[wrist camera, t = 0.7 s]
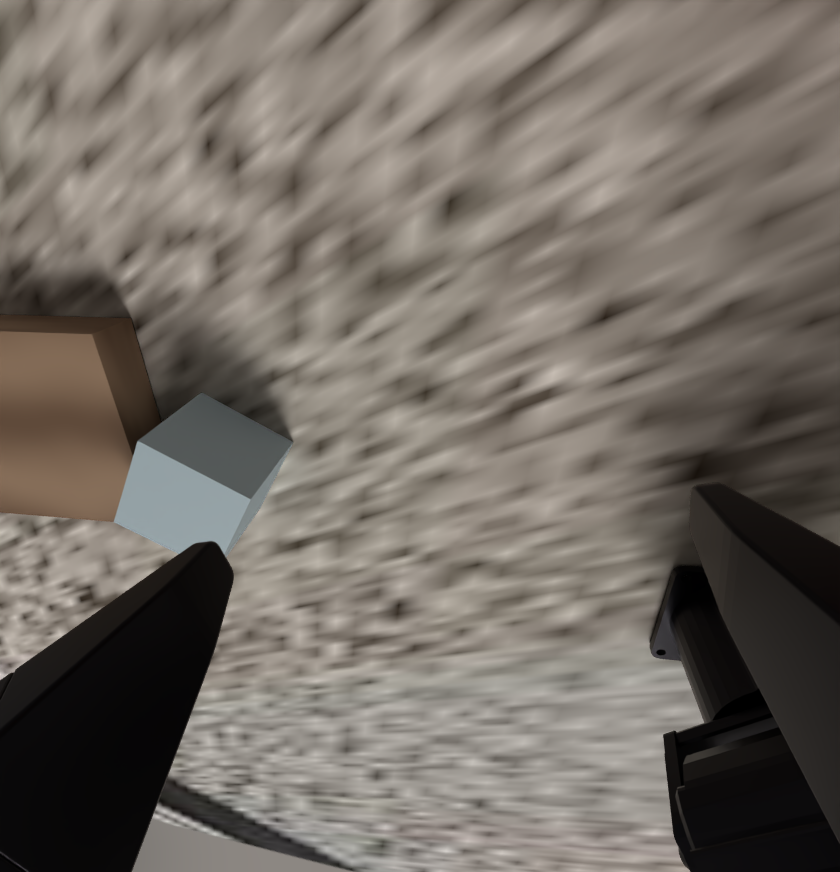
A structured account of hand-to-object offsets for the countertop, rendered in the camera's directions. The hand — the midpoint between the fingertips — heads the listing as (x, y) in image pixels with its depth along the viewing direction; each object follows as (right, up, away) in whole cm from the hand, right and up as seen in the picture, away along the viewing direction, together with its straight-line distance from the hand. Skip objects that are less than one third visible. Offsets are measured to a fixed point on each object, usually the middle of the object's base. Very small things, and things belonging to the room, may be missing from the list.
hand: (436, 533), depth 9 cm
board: (-18, +3, +16) cm, 25 cm away
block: (-10, +1, +16) cm, 19 cm away
